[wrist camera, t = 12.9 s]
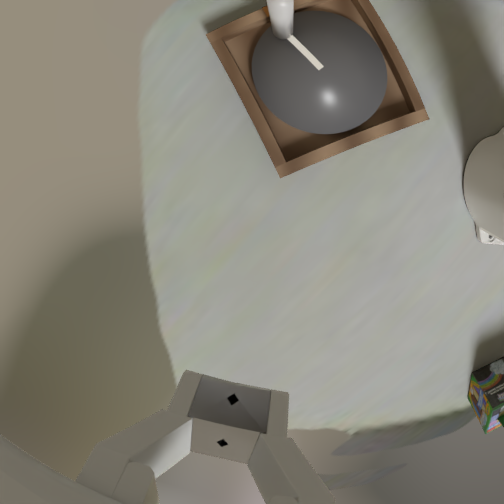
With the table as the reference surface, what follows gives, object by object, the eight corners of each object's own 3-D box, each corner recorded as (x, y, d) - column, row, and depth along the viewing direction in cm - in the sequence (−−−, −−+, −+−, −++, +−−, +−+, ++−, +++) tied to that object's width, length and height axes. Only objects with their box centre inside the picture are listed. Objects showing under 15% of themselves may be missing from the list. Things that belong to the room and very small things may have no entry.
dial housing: (349, -10, 27) (354, -22, 24) (418, 119, 33) (429, 119, 30) (212, 41, 32) (205, 33, 29) (281, 174, 38) (280, 178, 35)
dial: (408, 86, 30) (450, 72, 20) (314, 160, 35) (324, 171, 25) (322, -6, 27) (331, -50, 17) (225, 65, 32) (200, 40, 22)
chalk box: (466, 398, 49) (488, 447, 35) (470, 371, 46) (498, 423, 33) (499, 382, 47) (524, 427, 33) (505, 354, 44) (536, 401, 30)
